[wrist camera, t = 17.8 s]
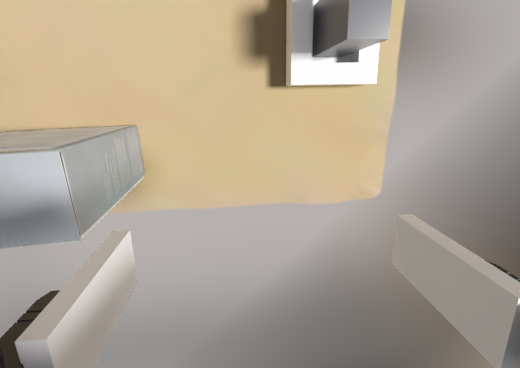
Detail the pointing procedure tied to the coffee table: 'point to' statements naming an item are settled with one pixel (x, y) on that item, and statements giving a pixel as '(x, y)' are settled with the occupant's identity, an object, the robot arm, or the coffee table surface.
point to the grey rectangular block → (349, 26)
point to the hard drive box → (63, 181)
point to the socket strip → (322, 68)
